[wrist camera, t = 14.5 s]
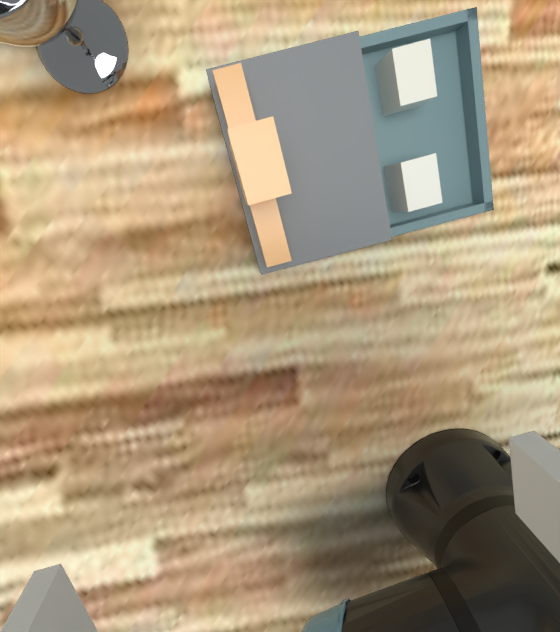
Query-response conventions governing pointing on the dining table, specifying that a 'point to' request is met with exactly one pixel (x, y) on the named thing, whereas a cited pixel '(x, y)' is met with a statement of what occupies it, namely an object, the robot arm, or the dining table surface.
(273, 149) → the orange t-shaped block
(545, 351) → the dining table surface
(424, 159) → the white cube block
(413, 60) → the white rectangular block
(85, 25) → the wine glass
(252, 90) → the grey drawer housing
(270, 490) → the dining table surface
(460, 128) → the blue-grey flat tray
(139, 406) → the dining table surface
